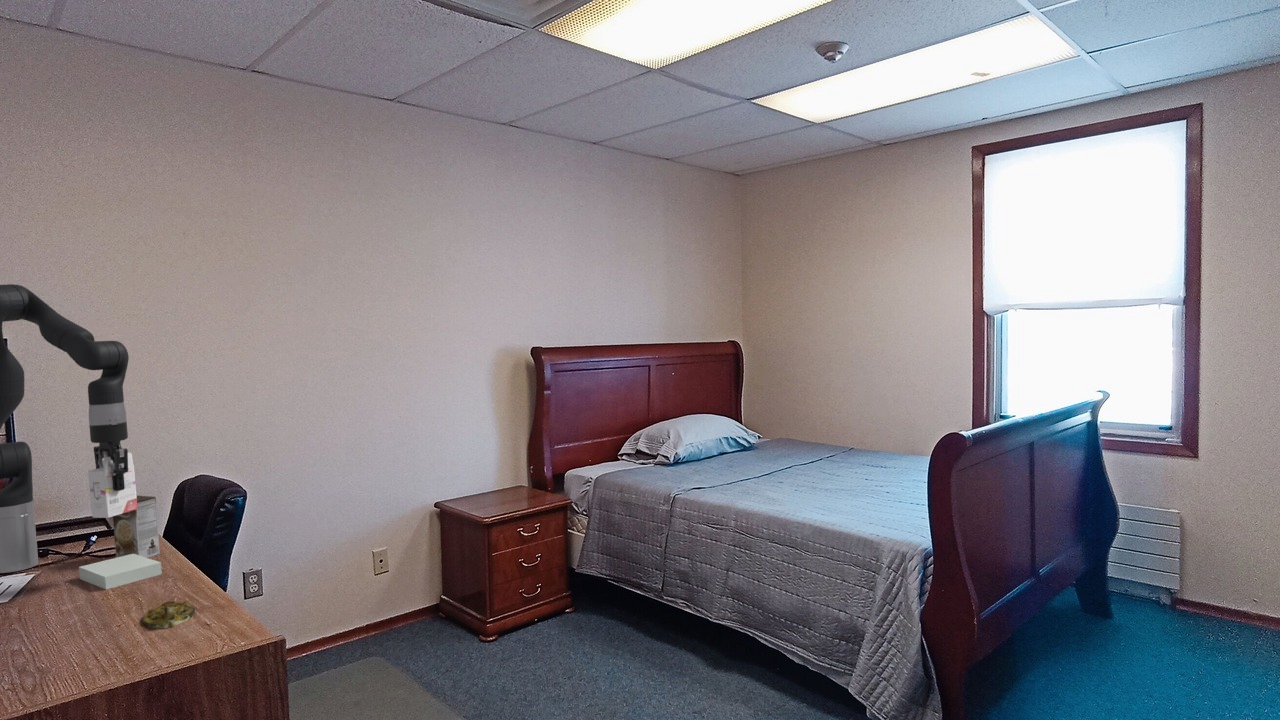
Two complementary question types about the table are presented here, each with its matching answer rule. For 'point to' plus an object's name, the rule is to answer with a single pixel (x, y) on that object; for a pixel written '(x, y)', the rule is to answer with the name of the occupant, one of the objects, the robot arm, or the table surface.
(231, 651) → the table surface
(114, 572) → the plinth
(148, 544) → the coffee box
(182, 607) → the olive green oval lump
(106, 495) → the ink cartridge box
